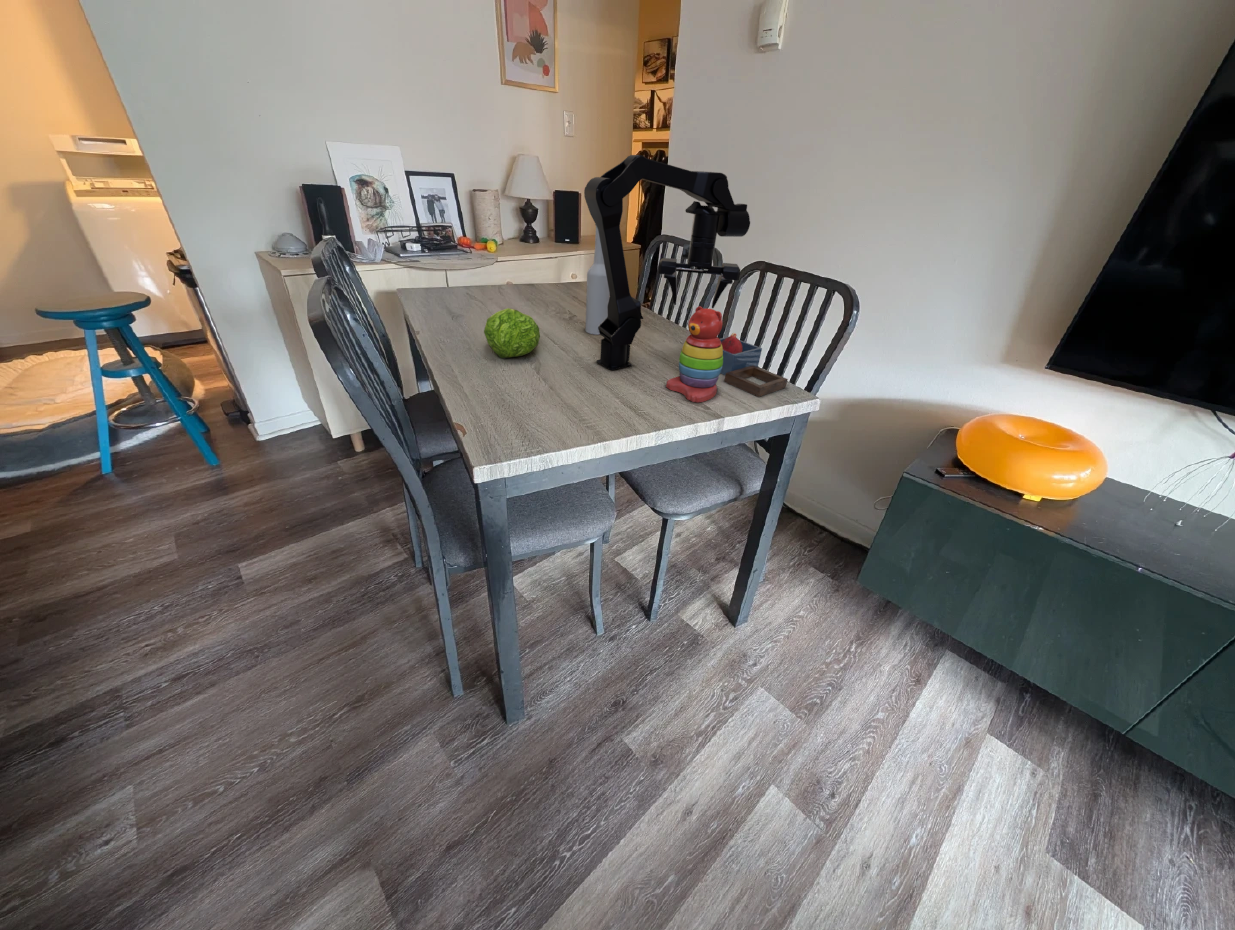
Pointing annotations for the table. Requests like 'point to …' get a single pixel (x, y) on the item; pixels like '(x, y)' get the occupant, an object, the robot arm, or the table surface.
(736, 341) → the red round fruit
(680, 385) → the stacking bear
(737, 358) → the blue open box
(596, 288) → the bottle
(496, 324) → the lettuce
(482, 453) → the table surface
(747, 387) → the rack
